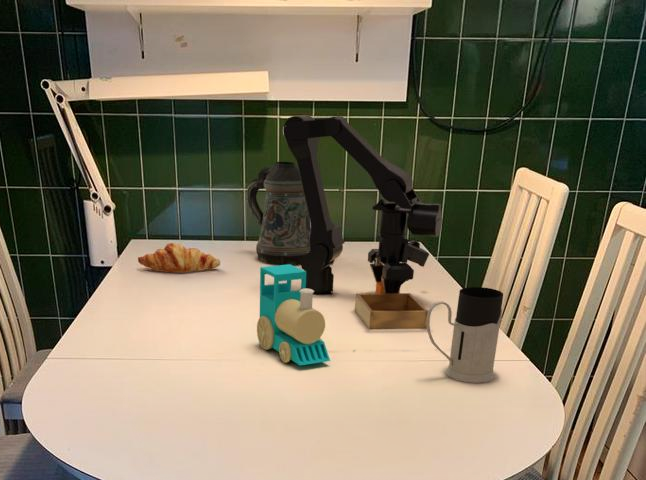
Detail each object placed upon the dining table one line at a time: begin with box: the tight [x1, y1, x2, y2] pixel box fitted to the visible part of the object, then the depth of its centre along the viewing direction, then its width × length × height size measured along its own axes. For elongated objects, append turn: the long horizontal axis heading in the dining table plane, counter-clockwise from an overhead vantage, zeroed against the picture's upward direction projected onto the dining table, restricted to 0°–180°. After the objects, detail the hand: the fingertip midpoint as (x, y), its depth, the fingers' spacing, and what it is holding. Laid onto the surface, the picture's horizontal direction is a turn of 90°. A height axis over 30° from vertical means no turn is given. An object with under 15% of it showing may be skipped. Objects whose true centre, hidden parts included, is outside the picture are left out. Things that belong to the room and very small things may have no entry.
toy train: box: [256, 264, 331, 366], centre depth 153 cm, size 8×17×15 cm, turn 27°
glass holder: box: [426, 286, 504, 384], centre depth 145 cm, size 9×14×15 cm, turn 107°
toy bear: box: [375, 275, 401, 294], centre depth 189 cm, size 5×4×8 cm
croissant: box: [137, 242, 221, 273], centre depth 212 cm, size 21×10×8 cm
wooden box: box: [354, 292, 429, 330], centre depth 176 cm, size 12×14×4 cm
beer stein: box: [246, 161, 311, 267], centre depth 221 cm, size 16×19×25 cm
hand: (386, 301), depth 190 cm, fingers open, 7 cm apart
